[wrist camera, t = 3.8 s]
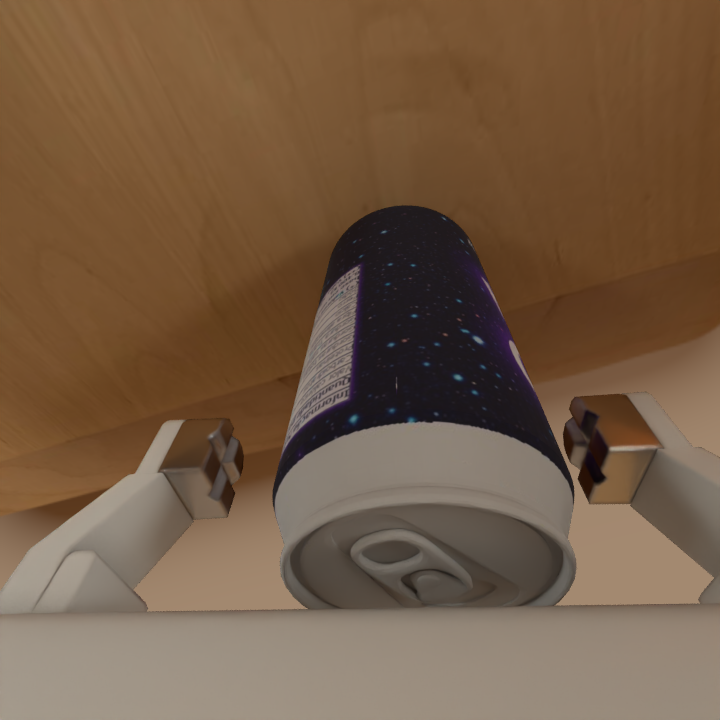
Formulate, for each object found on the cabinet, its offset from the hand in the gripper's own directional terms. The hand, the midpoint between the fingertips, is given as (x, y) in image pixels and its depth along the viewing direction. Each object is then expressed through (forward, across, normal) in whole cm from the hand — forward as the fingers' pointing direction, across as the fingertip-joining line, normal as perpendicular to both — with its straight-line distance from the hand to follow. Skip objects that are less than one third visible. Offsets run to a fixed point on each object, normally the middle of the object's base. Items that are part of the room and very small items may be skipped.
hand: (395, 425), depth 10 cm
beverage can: (+8, 0, 0) cm, 8 cm away
